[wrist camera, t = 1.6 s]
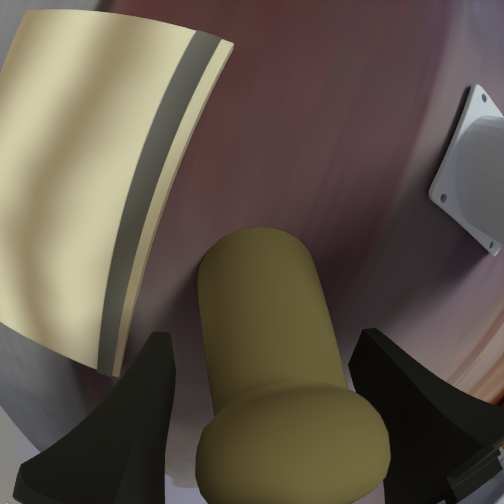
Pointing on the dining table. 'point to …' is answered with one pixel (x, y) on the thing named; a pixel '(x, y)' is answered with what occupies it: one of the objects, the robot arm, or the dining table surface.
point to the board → (91, 168)
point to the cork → (279, 383)
